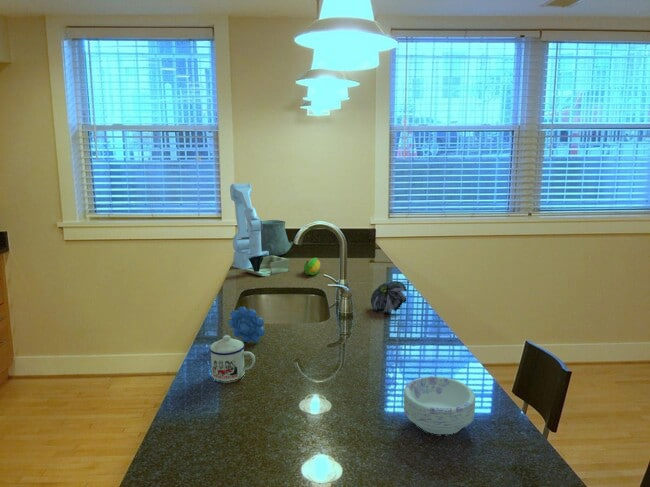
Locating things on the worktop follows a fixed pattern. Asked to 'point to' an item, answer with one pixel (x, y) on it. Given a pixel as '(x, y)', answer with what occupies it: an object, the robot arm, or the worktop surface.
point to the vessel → (274, 238)
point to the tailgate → (257, 272)
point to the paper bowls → (439, 404)
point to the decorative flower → (388, 297)
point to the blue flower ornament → (246, 324)
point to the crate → (274, 265)
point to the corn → (312, 266)
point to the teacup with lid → (229, 359)
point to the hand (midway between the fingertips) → (256, 271)
